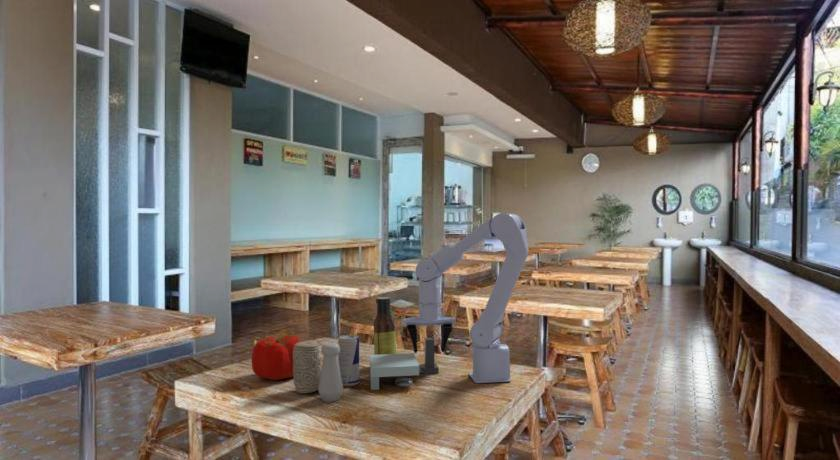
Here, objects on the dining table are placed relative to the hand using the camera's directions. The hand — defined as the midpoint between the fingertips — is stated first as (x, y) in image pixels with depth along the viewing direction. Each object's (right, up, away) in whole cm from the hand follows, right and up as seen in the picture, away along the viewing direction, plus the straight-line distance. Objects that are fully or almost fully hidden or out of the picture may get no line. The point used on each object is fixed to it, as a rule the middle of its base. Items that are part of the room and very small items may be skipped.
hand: (429, 351), depth 140 cm
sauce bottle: (-12, -6, +4) cm, 14 cm away
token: (-7, -6, -11) cm, 14 cm away
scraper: (-4, -6, 0) cm, 7 cm away
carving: (-30, -6, -16) cm, 35 cm away
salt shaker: (-23, -6, -21) cm, 32 cm away
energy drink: (-21, -6, -10) cm, 24 cm away
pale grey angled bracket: (-9, -6, -9) cm, 14 cm away
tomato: (-41, -6, -4) cm, 41 cm away
